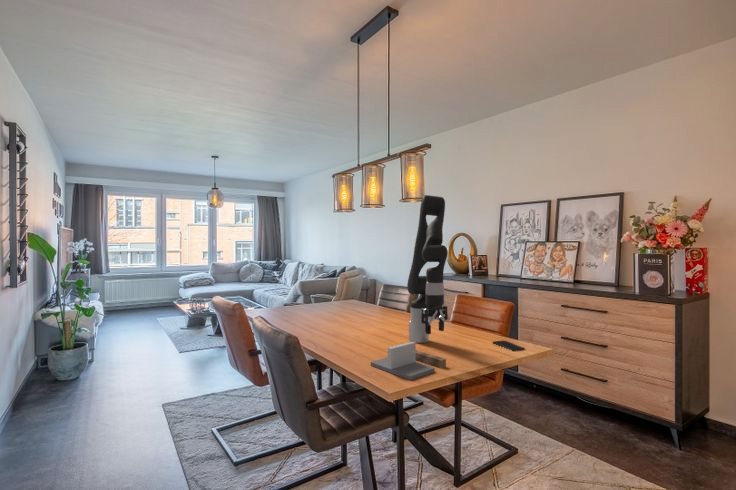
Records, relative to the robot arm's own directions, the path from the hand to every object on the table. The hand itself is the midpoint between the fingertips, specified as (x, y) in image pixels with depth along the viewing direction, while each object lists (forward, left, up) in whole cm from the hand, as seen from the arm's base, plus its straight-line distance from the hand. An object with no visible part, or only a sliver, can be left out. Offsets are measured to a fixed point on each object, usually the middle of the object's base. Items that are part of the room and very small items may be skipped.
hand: (434, 332), depth 162 cm
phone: (+6, +49, -14) cm, 51 cm away
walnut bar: (-5, 0, -14) cm, 15 cm away
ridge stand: (-5, -14, -13) cm, 20 cm away
